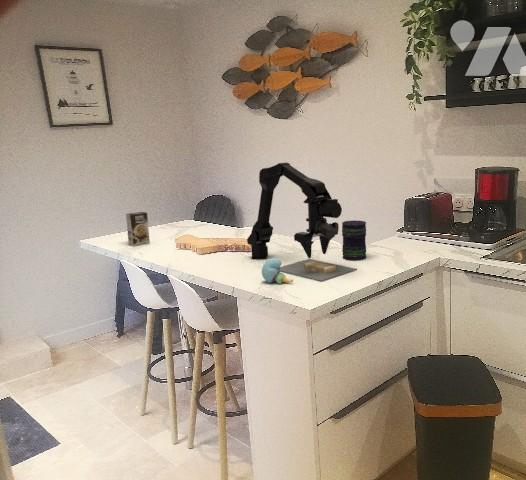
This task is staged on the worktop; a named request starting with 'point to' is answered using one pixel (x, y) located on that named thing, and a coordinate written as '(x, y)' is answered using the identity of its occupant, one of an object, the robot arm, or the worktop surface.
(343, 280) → the worktop surface
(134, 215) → the coffee box
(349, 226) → the storage jar
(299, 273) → the mat
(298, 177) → the robot arm
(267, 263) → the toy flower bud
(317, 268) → the birch tile
